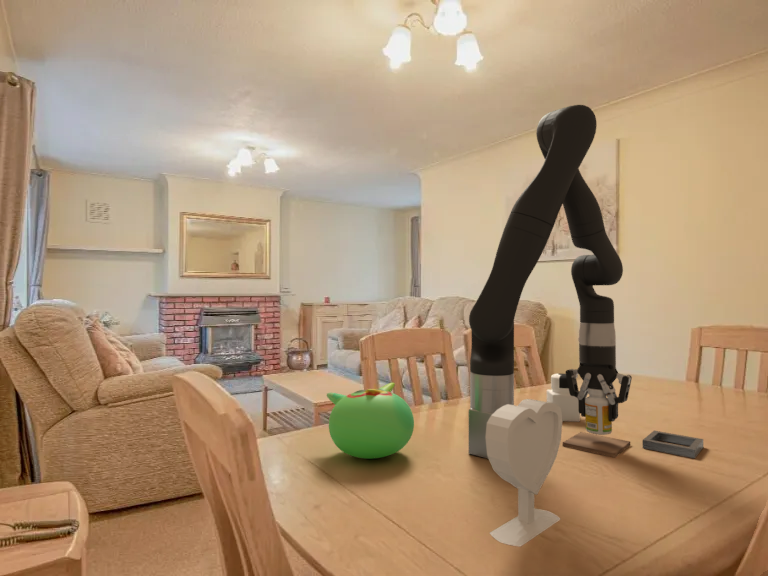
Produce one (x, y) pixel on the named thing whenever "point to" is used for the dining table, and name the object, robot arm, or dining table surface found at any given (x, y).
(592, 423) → the supplement bottle
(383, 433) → the green rounded blob
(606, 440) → the coaster
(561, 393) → the medicine bottle
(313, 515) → the dining table surface
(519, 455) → the heart sculpture
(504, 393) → the robot arm
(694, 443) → the square frame
